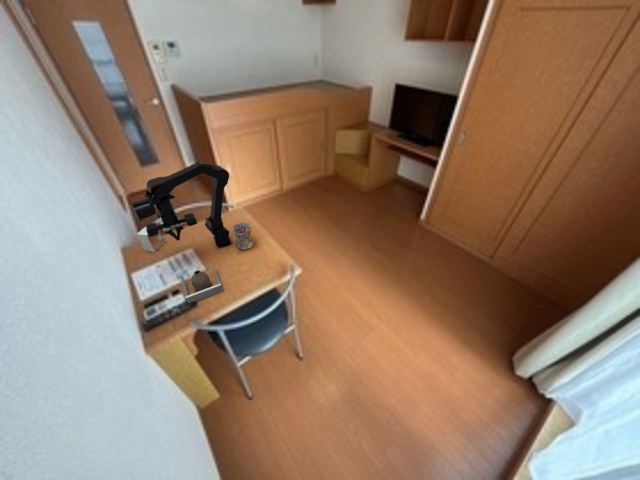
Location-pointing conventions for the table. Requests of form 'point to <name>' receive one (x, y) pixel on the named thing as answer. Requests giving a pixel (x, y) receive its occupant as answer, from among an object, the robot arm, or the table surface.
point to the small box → (150, 240)
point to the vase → (200, 280)
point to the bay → (204, 292)
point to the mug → (243, 235)
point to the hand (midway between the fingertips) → (178, 240)
